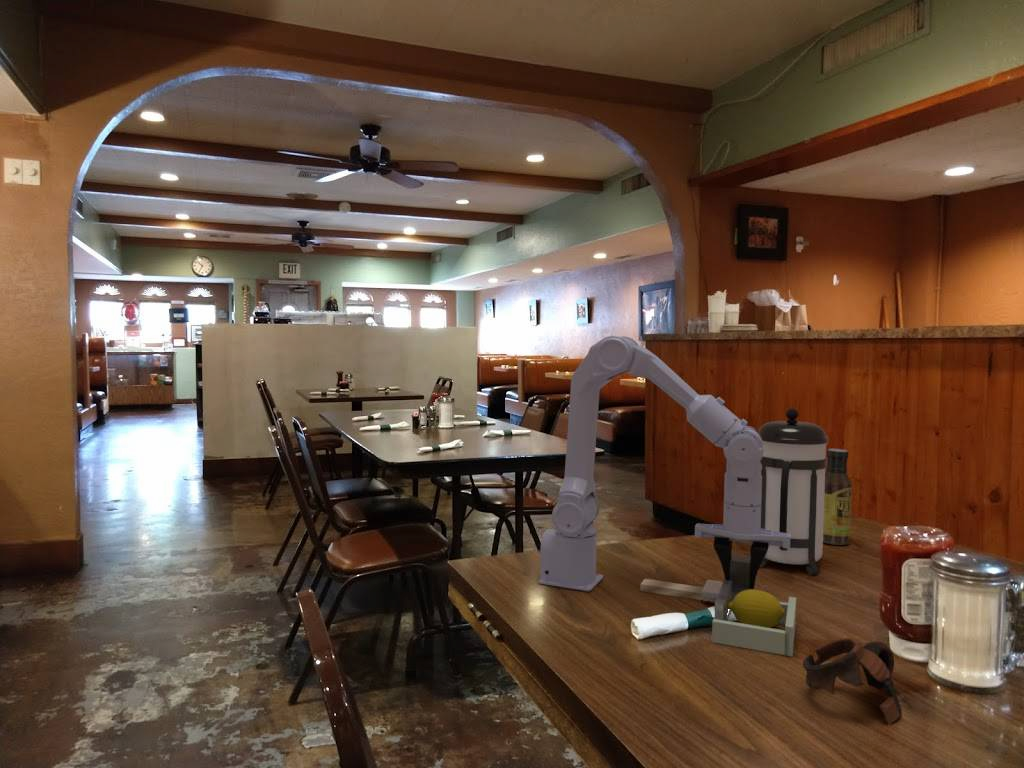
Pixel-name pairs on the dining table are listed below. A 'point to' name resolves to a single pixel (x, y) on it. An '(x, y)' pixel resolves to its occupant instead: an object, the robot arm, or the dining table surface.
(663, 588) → the rail
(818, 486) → the coffee press
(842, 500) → the sauce bottle
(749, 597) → the lemon
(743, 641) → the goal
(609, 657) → the dining table surface
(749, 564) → the slider
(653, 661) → the dining table surface
